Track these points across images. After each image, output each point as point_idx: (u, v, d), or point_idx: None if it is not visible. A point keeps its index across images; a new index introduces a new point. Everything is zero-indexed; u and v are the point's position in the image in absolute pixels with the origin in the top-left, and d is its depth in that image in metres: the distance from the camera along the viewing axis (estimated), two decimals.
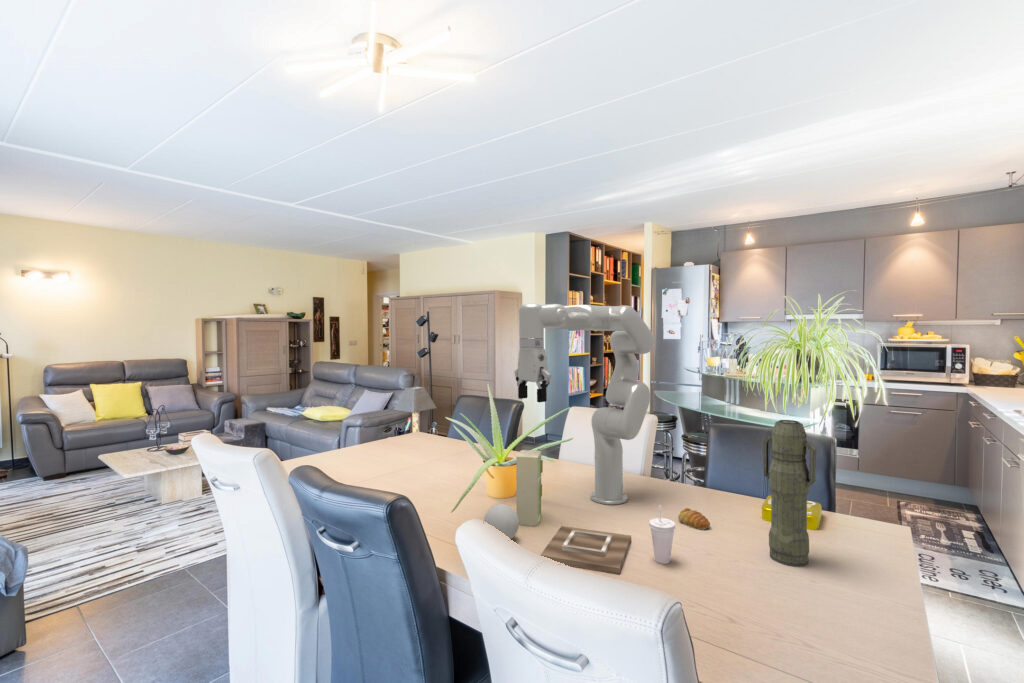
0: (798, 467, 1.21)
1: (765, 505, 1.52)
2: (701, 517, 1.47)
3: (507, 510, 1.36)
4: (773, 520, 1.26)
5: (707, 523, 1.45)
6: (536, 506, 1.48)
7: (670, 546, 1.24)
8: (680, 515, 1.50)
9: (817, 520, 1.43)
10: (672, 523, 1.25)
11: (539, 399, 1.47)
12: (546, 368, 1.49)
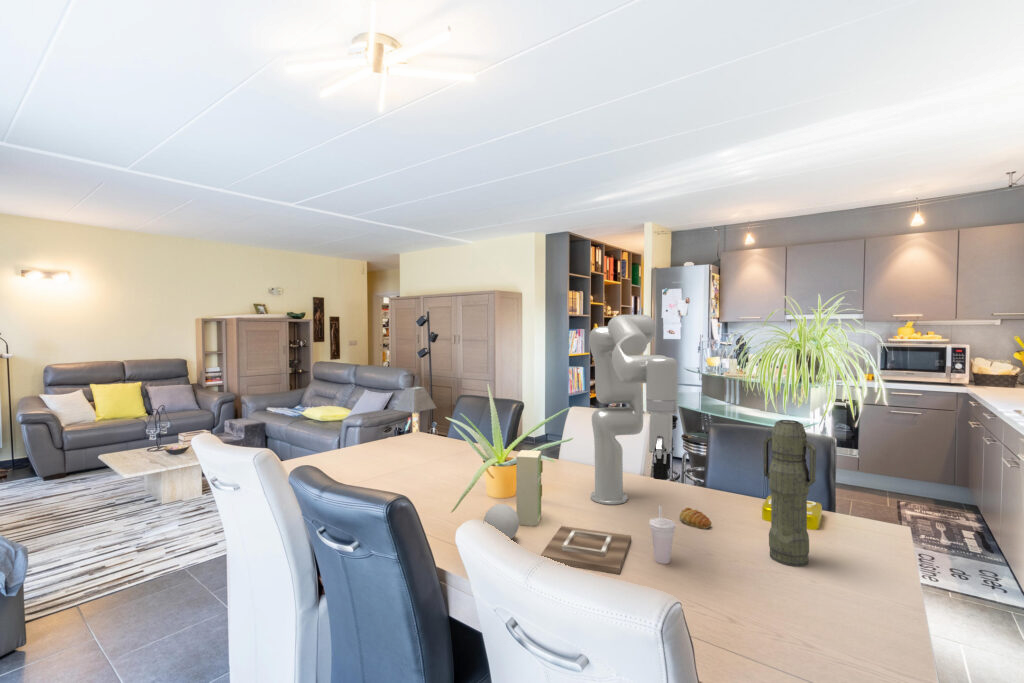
0: (798, 467, 1.21)
1: (765, 505, 1.53)
2: (702, 516, 1.47)
3: (507, 510, 1.36)
4: (773, 520, 1.26)
5: (709, 522, 1.45)
6: (536, 506, 1.48)
7: (670, 546, 1.24)
8: (681, 515, 1.50)
9: (817, 520, 1.44)
10: (672, 523, 1.25)
11: None
12: None
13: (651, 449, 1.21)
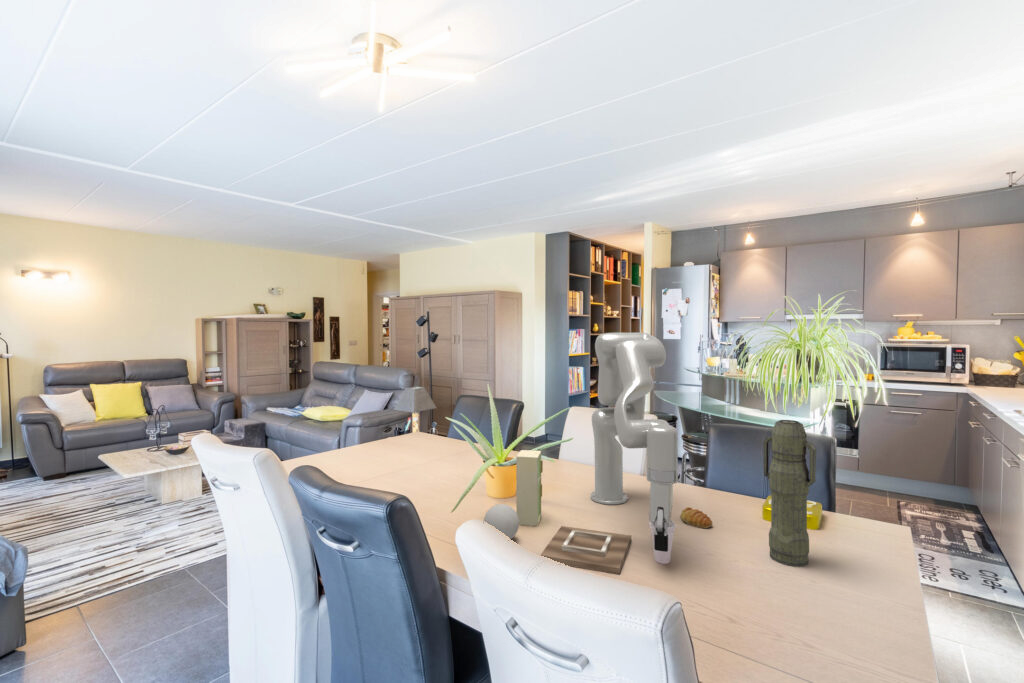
0: (798, 467, 1.21)
1: (766, 505, 1.53)
2: (703, 516, 1.48)
3: (507, 510, 1.36)
4: (773, 520, 1.26)
5: (710, 522, 1.45)
6: (536, 506, 1.48)
7: (670, 546, 1.24)
8: (682, 514, 1.51)
9: (818, 520, 1.44)
10: (672, 523, 1.25)
11: None
12: None
13: (651, 519, 1.21)
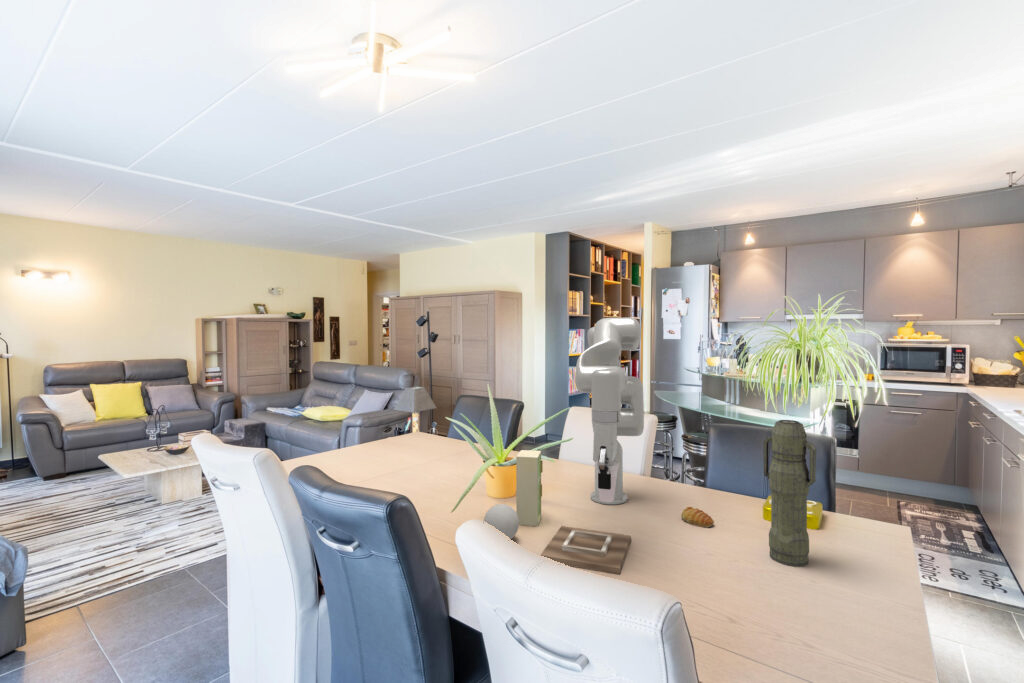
0: (798, 467, 1.21)
1: (766, 505, 1.53)
2: (705, 515, 1.48)
3: (507, 510, 1.36)
4: (773, 520, 1.26)
5: (711, 521, 1.46)
6: (536, 506, 1.48)
7: (614, 485, 1.28)
8: (683, 514, 1.51)
9: (818, 520, 1.44)
10: (616, 463, 1.29)
11: None
12: None
13: (595, 458, 1.25)
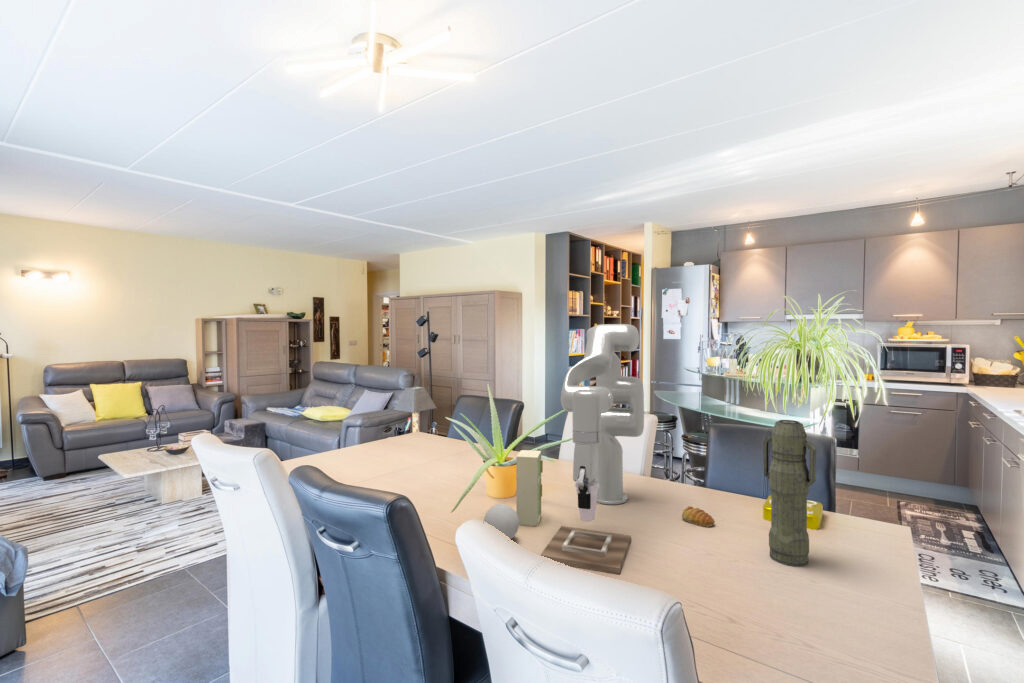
0: (798, 467, 1.21)
1: (766, 504, 1.53)
2: (705, 514, 1.49)
3: (507, 510, 1.36)
4: (773, 520, 1.26)
5: (712, 520, 1.47)
6: (536, 506, 1.48)
7: (594, 504, 1.29)
8: (684, 513, 1.51)
9: (818, 520, 1.44)
10: (596, 483, 1.31)
11: None
12: None
13: (574, 478, 1.27)
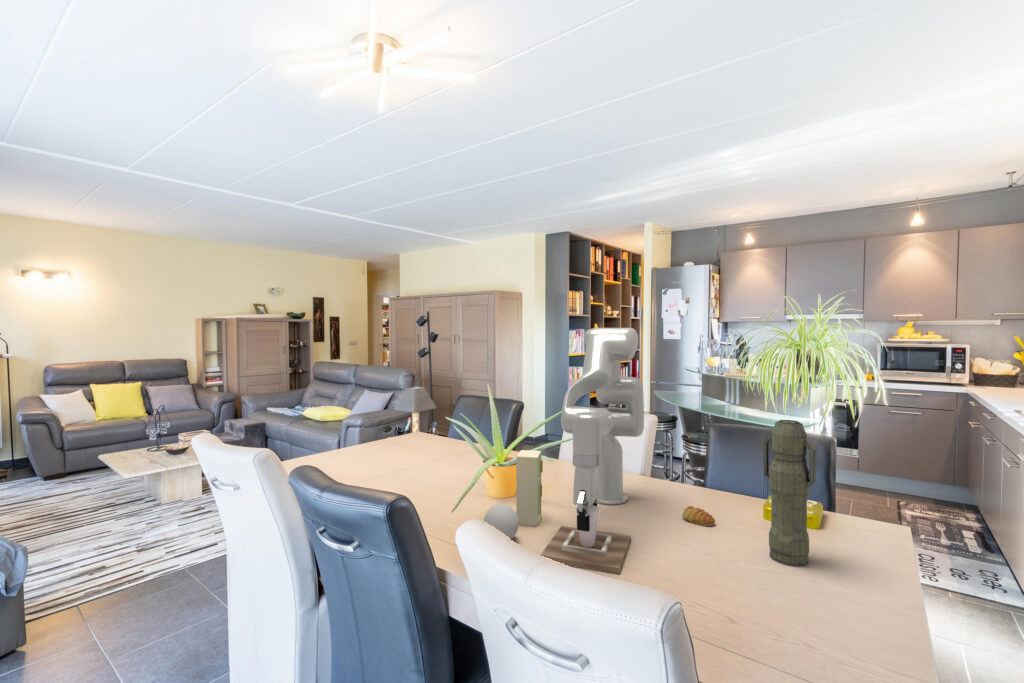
0: (798, 467, 1.21)
1: (766, 504, 1.53)
2: (706, 514, 1.49)
3: (507, 510, 1.36)
4: (773, 520, 1.26)
5: (713, 520, 1.47)
6: (536, 506, 1.48)
7: (594, 530, 1.30)
8: (684, 513, 1.52)
9: (818, 519, 1.44)
10: (597, 509, 1.31)
11: None
12: None
13: (575, 502, 1.27)
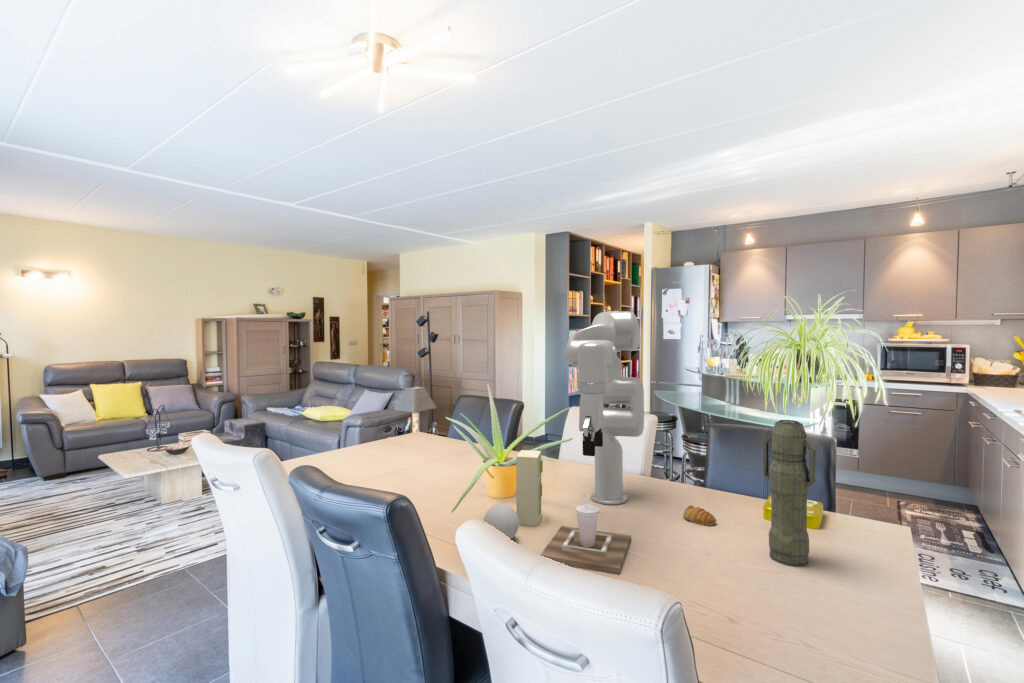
0: (798, 467, 1.21)
1: (767, 504, 1.53)
2: (707, 513, 1.50)
3: (507, 510, 1.36)
4: (773, 520, 1.26)
5: (714, 519, 1.48)
6: (536, 506, 1.48)
7: (594, 530, 1.30)
8: (685, 513, 1.52)
9: (819, 519, 1.44)
10: (596, 509, 1.31)
11: None
12: None
13: (580, 428, 1.30)
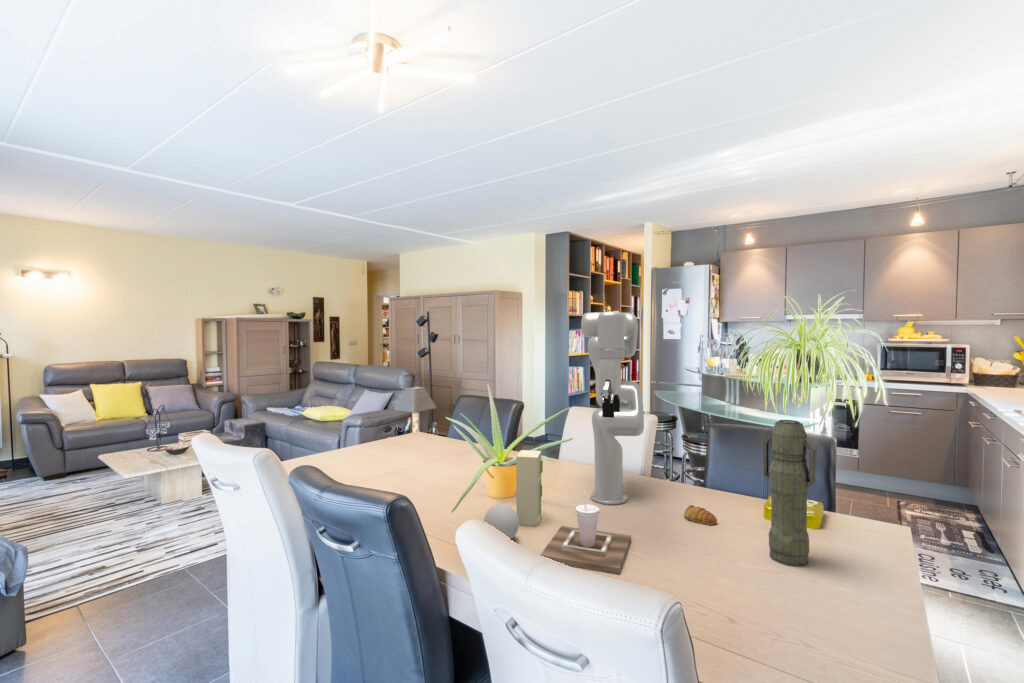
0: (798, 467, 1.21)
1: (767, 504, 1.53)
2: (707, 513, 1.50)
3: (507, 510, 1.36)
4: (773, 520, 1.26)
5: (715, 518, 1.48)
6: (536, 506, 1.48)
7: (594, 530, 1.30)
8: (686, 512, 1.52)
9: (819, 519, 1.44)
10: (597, 509, 1.31)
11: None
12: None
13: (600, 391, 1.38)
